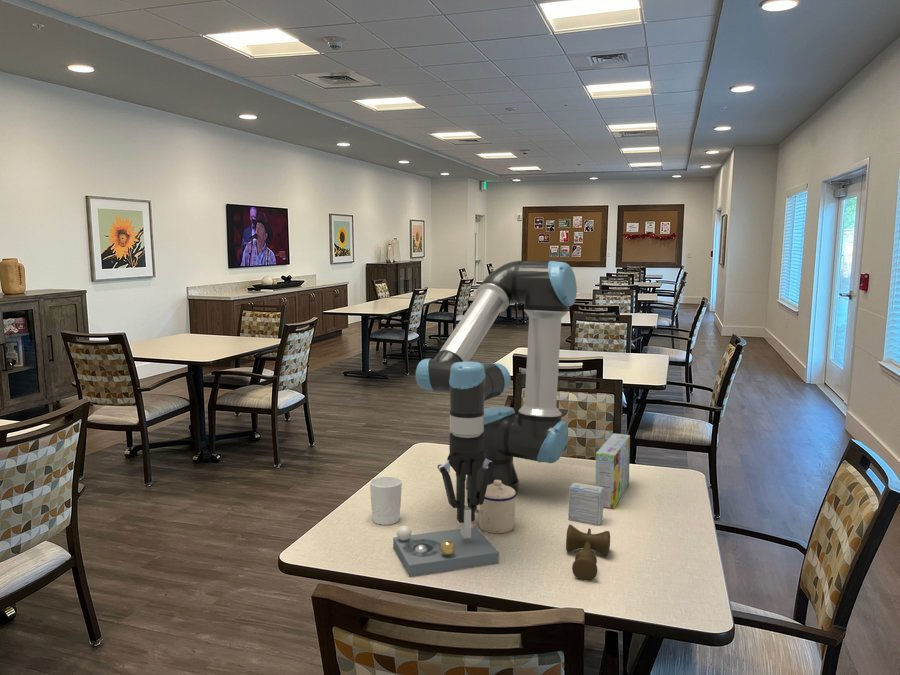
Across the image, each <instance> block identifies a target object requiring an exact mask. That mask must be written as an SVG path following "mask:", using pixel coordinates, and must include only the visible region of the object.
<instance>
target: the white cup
mask: <svg viewBox="0 0 900 675" xmlns="http://www.w3.org/2000/svg"><path fill="white" fill-rule="evenodd" d="M369 485H370V486H369V488H370V504H371V512H372V513H371V514H372V522H373V523H375V524H377V525H380V524H381V526H389V525H393V524H396V523H398V522H399V521H400V518H401V506H402V490H403V489H402V485H403V481H402V479H401V478H399V477H396V476H388V475H387V476H386V475H385V476H378V477H375V478H372V479H371V480H370V482H369Z"/></svg>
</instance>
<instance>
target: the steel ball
mask: <svg viewBox="0 0 900 675" xmlns="http://www.w3.org/2000/svg"><path fill="white" fill-rule="evenodd" d="M414 551H417V552H428V548H427V547H426V546H425V545H418V546H416V547H415V549H414Z"/></svg>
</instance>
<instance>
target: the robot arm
mask: <svg viewBox="0 0 900 675" xmlns="http://www.w3.org/2000/svg"><path fill="white" fill-rule="evenodd" d="M577 288H578V287H577V280H576V275H575V272H574V270H573V268H572V266H570V264H568V263H567V262H563V261H554V260H548V261H546V260H534V261H533V260H529V261H528V260H525V261H523V260H513V261H510V262H507V263H505V264H503V265H501V266H499V267H498V268H496V269H495V270H493V271H492V272H491V273H490V274H488V275H487V276H486V277H485V278H484V279H483V280H482V281H481V283H480V284H479V286H478V287H477V289H476V290H475V298H474V300H473V301H472V303H471V304H470V305H469V307H468V309H467V310H466V311H465V313H464V314H463V316H462V317H461V319H460V320H459V322H458V323H457V325H456V326H455V327H454V329H453V331H452V332H451V334H450V335H449V337H448V338H447V340H446V341H445V342H444V344H443V345H442V347H441V349H440V350H439V351H438V353H437V354H436V356H435V357H434V358H430V357H429V358H423V359H421V360H420V361H419V362H418V363H417V366H416V369H415V381H416V383H417V385H418V386H419V388H421V389H424V390H427V391H432V392H434V393H435V392H437V393H438V392H439V393H449V432H450V434H449V440H448V441H449V442H448V443H449V445H448V446H449V454H448V456H447V460H446V461H445V462H444V463H443V464H442V463H439V464H437V469H438V471H439V473H440V474H441V478H442V481H443V485H444V488H445V492H446V497H447V501H448V504H449V505H450V506H451V507H452V509H456V521H457V522H458V523H459V524H460V529H461V535H462V536H463V537H464V538H471V527H472V523H473V522H475V519H476V513H475V510H476V509H477V508H478V506H480V505H482V504H483V502H484V498H485V494H486V490H487V485H490V484H493V483H494V480H501V482H502V484H504V485H506V486H509V487H511V488H513V489H514V490H515V492H516V493H517V492H518V491H519V489H520V482H519V477H518V475H517V474H518V473H517V471H516V470H517V469H516V467H515V464H514V458H518V459H522V460H529V461H532V462H538V463H547V464H554V463H556V462H557V461H559V460H560V458H561V457H562V455H563V453H564V451H565V449H566V446H567V444H568V443H567V442H568V439H569V425H568V423H567V422H565V421H564V420H562V411H561V410H559V408H558V407H557V402H558V401H557V399H558V398H557V397H558V380H559V366H560V349H561V348H560V347H561V331H562V330H561V329H562V318H563V317H565V316H566V315H567V314H568V309H569V307H572V306H573V305H574V304H575V302H576V298H577V295H578V294H577V291H578V289H577ZM513 304H524V306H523V312H525V313H526V315H527V316H528V333H527V334H528V336H527V352H526V353H527V354H526V355H527V356H526V367H525V368H526V372H525V388H524V404H523V406H522V407H520V408H519V409H518V414H515V413H516V412H515V409H514V407H511V406H491V407H485V401H487V400H490V399H492V398H495V397H500V396H501V395H502V394H503V393H505V392H506V391H507V390H508V389H509V387H510V385H511V381H512V378H511V374H510V371H509V370H508V368H507V367H506V366H505V365H504V364H502V363H499V362H498V363H497V362H490V363H486V364H483V363H481V362H477V361H470V360H471V359H472V357H473V356H474V354H475V352H477V349H478V347H479V346H480V344H481V343H482V341H483V339H484V338H485V337H486V335H487V333H488V332H489V330H490V329H491V327H492V326H493V325H494V322H495V320H497V318H498V317H499V314H500V313H503V312H504V311H506V310H507V309H508V307H509V306H510V305H513ZM451 468H452V470H453V471H454V472H455V477H456V481H455V482H456V485H455V488H456V489H455V490H454V486H453V482H452V477H451V475H450V473H451ZM477 510H478V509H477Z"/></svg>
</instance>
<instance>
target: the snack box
mask: <svg viewBox="0 0 900 675" xmlns="http://www.w3.org/2000/svg"><path fill="white" fill-rule="evenodd" d="M630 444H631V435H630V434H623V433H612V434H611V435H610V437H608V439H607V440H606V441H605V442H604V443H603V444H602V445H601V446H600V448H599V449H598V450H597V451H596V452H595V486H599V487H603V488H604V492H603V509H610V510H615V507H616V506H617V504H618V502H620V499H621V497H622V496H623V495H624V493H625V491H626V490H627V488H628V487H629V485H630V456H631V454H630V453H631V452H630V450H631V448H630V447H631V445H630Z"/></svg>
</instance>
